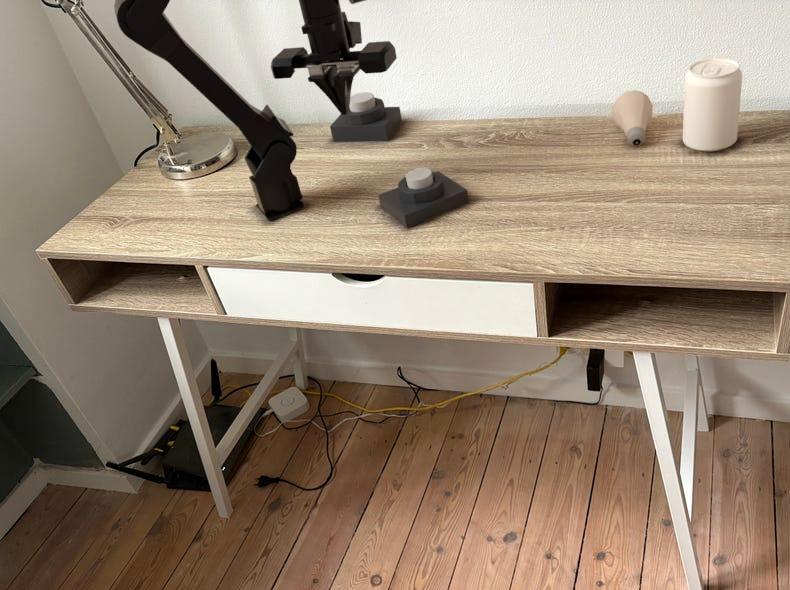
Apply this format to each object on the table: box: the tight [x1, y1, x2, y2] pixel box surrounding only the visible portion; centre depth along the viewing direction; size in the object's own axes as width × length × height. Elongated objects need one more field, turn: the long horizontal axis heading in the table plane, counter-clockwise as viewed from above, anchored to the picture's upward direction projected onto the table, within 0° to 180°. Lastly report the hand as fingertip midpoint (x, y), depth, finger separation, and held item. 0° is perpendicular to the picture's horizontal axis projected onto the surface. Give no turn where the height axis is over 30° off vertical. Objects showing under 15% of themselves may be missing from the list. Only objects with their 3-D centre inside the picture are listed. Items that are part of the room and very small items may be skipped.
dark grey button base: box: [377, 170, 470, 229], centre depth 126 cm, size 11×9×4 cm
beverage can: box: [682, 57, 743, 153], centre depth 125 cm, size 8×8×12 cm
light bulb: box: [611, 90, 654, 148], centre depth 133 cm, size 7×7×11 cm
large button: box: [349, 91, 376, 112], centre depth 150 cm, size 5×5×2 cm
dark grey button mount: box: [329, 96, 403, 142], centre depth 152 cm, size 11×8×5 cm
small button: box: [405, 167, 433, 189], centre depth 125 cm, size 4×4×2 cm
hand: (345, 113), depth 130 cm, fingers closed
